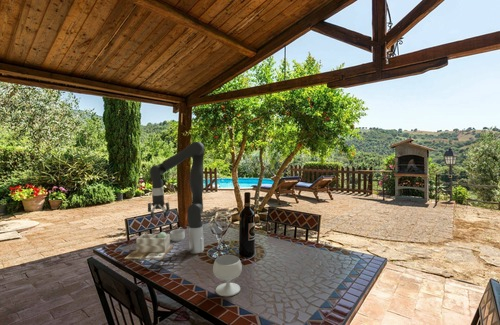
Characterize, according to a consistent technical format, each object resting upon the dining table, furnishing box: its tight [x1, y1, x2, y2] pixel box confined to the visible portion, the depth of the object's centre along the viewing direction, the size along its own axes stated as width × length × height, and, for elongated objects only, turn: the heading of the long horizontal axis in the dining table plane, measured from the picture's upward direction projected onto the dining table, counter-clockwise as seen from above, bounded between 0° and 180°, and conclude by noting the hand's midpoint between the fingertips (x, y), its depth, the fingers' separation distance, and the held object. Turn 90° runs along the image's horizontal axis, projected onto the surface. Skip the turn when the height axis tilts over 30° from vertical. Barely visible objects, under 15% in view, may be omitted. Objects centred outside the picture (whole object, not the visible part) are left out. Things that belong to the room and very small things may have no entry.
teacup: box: [169, 228, 185, 242], centre depth 194 cm, size 14×11×8 cm
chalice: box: [212, 254, 243, 297], centre depth 121 cm, size 14×14×15 cm
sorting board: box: [123, 233, 176, 260], centre depth 167 cm, size 25×23×10 cm
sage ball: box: [157, 231, 167, 239], centre depth 173 cm, size 6×6×6 cm
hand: (159, 217), depth 171 cm, fingers open, 8 cm apart
